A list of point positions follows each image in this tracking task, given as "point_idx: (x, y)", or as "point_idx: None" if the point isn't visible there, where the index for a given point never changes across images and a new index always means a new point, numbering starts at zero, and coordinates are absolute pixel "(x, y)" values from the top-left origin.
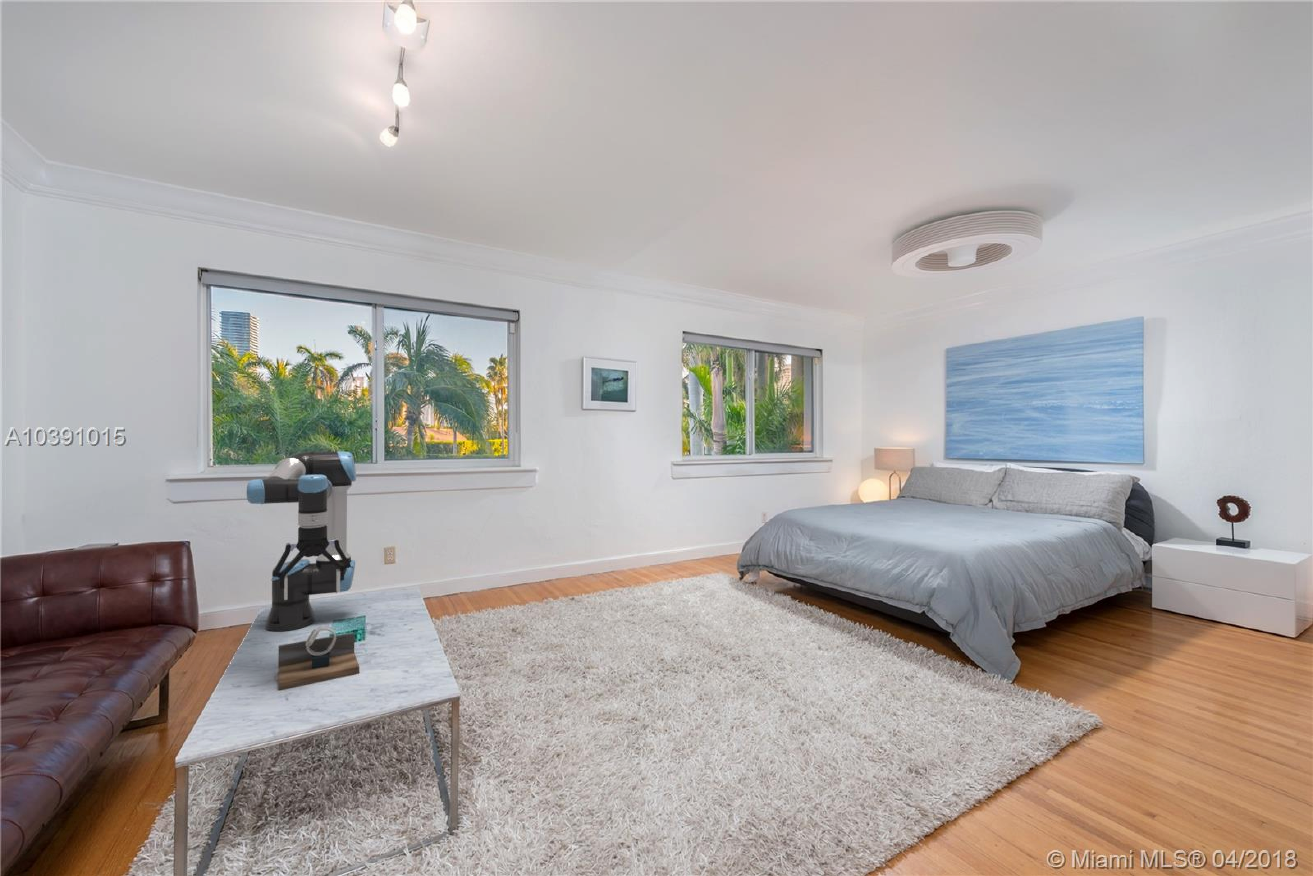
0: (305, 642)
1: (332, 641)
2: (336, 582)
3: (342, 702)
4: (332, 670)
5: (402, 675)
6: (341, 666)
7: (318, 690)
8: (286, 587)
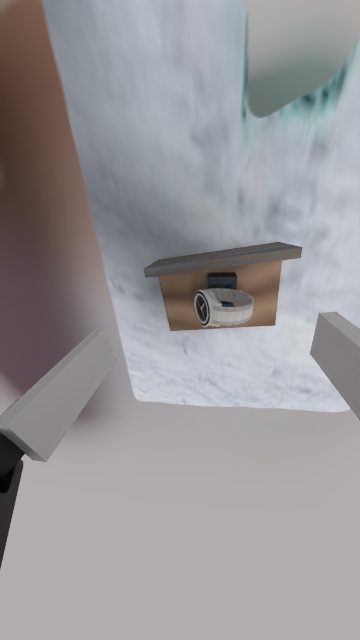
0: (192, 271)
1: (244, 305)
2: (351, 348)
3: (239, 383)
4: None
5: None
6: None
7: (216, 346)
8: (83, 403)
